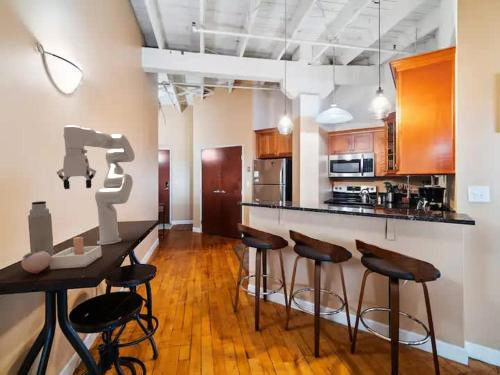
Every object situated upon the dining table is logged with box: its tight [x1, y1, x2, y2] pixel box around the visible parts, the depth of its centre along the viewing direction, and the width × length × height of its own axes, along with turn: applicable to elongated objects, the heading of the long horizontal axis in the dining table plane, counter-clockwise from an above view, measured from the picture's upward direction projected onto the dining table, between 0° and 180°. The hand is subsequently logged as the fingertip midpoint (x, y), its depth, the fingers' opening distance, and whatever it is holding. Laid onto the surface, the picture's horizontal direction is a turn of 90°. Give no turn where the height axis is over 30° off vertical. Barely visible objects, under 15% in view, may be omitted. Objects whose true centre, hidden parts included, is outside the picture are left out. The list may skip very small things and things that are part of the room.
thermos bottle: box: [27, 201, 55, 267], centre depth 116 cm, size 8×8×28 cm
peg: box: [72, 236, 85, 255], centre depth 118 cm, size 4×4×10 cm
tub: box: [49, 245, 103, 270], centre depth 118 cm, size 15×14×5 cm
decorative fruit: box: [21, 249, 51, 274], centre depth 105 cm, size 9×8×10 cm
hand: (78, 188), depth 126 cm, fingers open, 9 cm apart
